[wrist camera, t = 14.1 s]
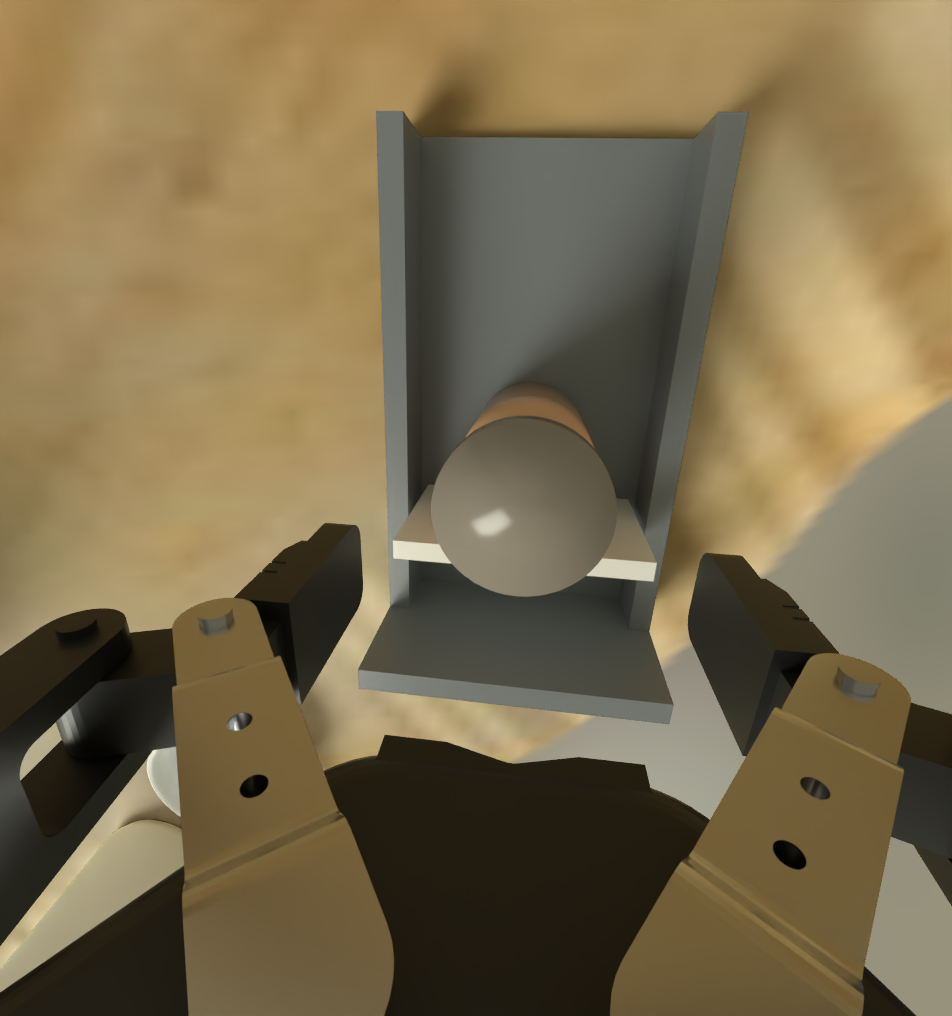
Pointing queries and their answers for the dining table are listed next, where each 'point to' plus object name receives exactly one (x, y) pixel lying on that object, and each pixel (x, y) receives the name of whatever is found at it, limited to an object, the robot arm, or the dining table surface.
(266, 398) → the dining table surface
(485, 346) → the lane
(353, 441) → the dining table surface
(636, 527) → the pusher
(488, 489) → the jar
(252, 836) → the robot arm
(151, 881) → the alcohol
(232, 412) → the dining table surface
